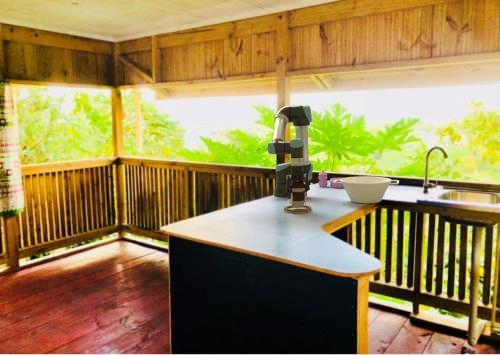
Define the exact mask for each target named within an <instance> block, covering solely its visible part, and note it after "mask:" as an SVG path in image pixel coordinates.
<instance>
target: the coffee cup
mask: <svg viewBox="0 0 500 355" xmlns="http://www.w3.org/2000/svg"><path fill="white" fill-rule="evenodd" d="M305 187H306V184H305V182H304V183H303V182H300V181H296V182H295V183H293V186H291V185H289V188H292V192H291V193H292V196H293V204H291V205H292V207H293V208H302V207H304V205H305V203H304V200H305Z"/></svg>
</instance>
